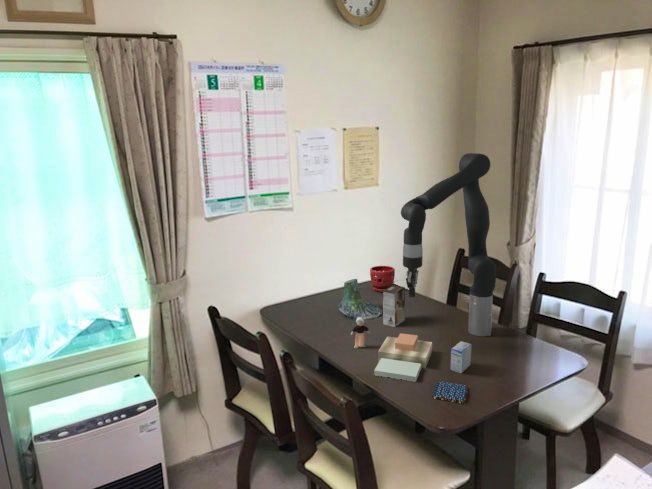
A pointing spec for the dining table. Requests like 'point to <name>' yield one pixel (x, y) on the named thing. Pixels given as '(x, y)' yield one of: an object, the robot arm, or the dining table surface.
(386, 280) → the plant pot
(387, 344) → the beige flat block
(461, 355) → the medicine box
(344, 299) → the tree stump
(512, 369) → the dining table surface
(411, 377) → the mat
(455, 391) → the woven mat
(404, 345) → the tile
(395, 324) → the coffee box
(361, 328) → the grandmother figurine
